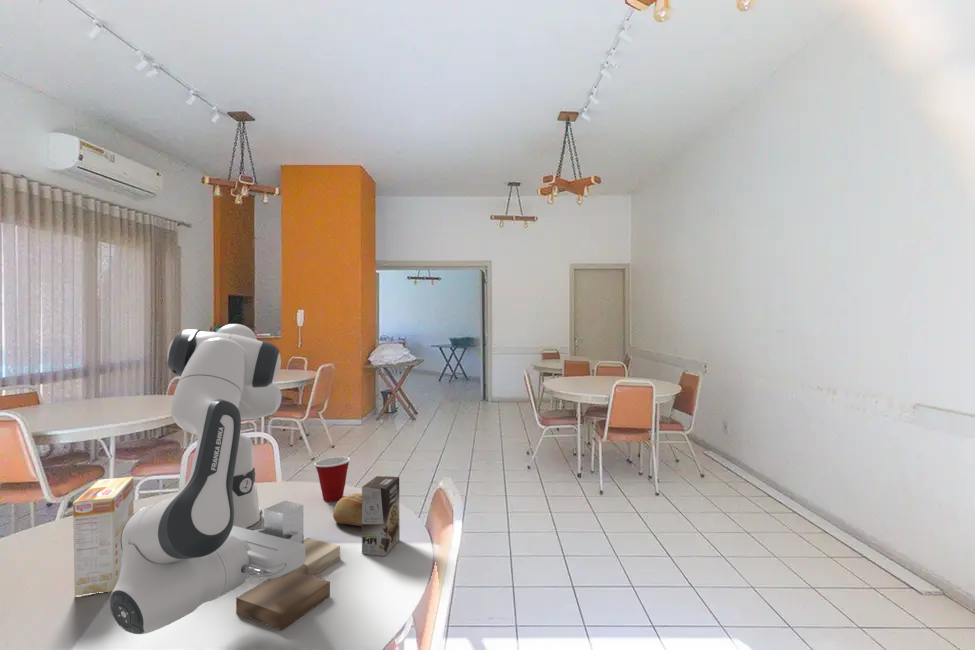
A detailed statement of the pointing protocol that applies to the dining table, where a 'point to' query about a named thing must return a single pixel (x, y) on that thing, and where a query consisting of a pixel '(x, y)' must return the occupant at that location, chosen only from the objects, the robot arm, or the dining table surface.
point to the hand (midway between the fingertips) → (287, 533)
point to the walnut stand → (283, 599)
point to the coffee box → (380, 515)
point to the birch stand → (318, 556)
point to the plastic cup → (332, 477)
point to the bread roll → (349, 510)
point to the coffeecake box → (100, 534)
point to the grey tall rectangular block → (284, 520)
